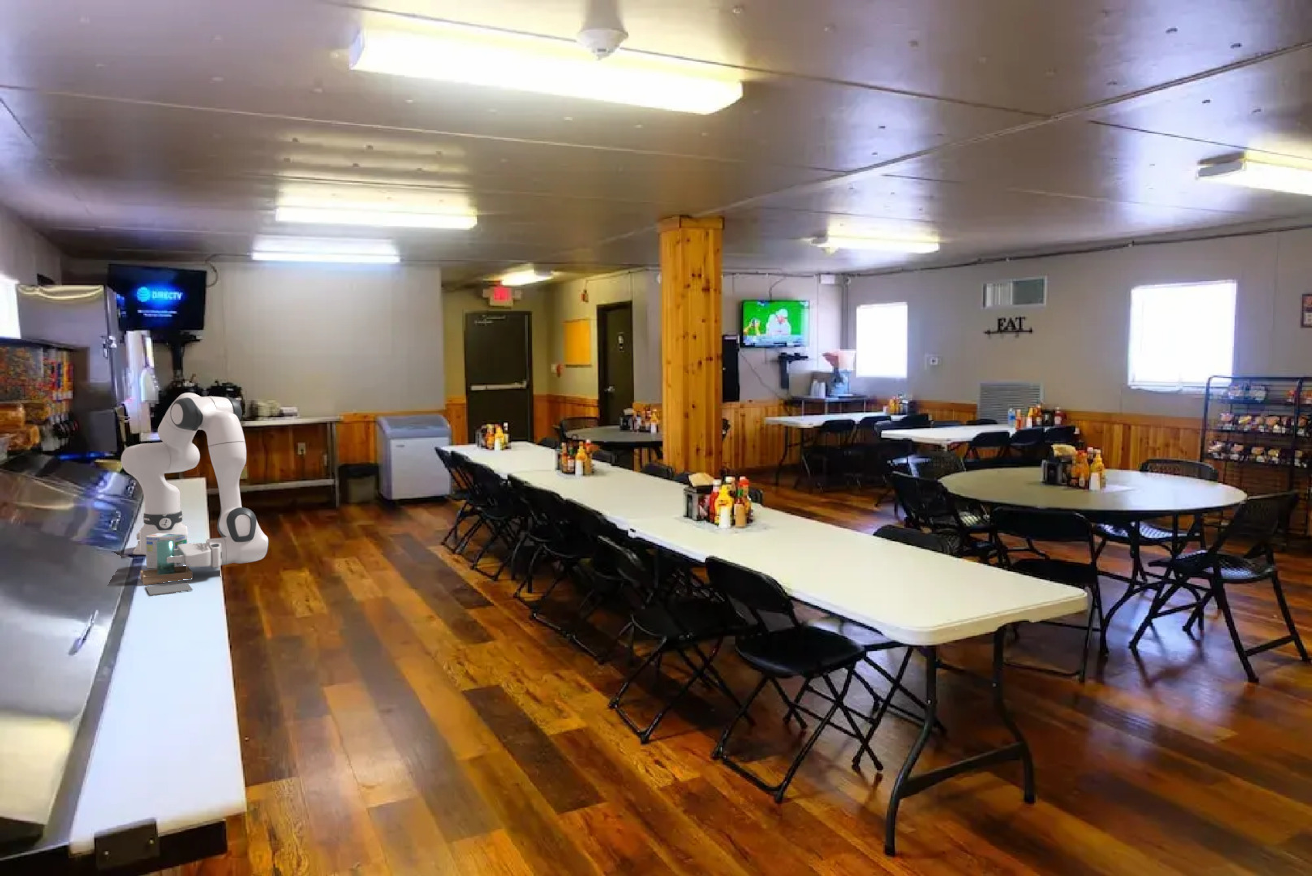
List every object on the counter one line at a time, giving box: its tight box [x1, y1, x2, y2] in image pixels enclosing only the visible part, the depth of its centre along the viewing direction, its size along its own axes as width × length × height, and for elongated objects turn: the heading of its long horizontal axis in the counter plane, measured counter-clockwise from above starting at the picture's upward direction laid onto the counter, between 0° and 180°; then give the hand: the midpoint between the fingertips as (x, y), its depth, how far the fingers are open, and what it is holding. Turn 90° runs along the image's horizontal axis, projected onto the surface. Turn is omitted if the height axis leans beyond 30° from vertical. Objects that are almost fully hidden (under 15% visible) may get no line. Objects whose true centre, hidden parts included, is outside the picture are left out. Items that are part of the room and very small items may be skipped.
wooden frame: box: [139, 566, 193, 586], centre depth 268 cm, size 10×13×2 cm
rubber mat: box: [144, 582, 193, 597], centre depth 256 cm, size 11×11×1 cm
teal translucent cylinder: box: [156, 540, 175, 575], centre depth 268 cm, size 5×5×12 cm
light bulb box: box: [145, 533, 189, 569], centre depth 284 cm, size 11×7×11 cm, turn 84°
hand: (164, 557), depth 268 cm, fingers open, 7 cm apart
